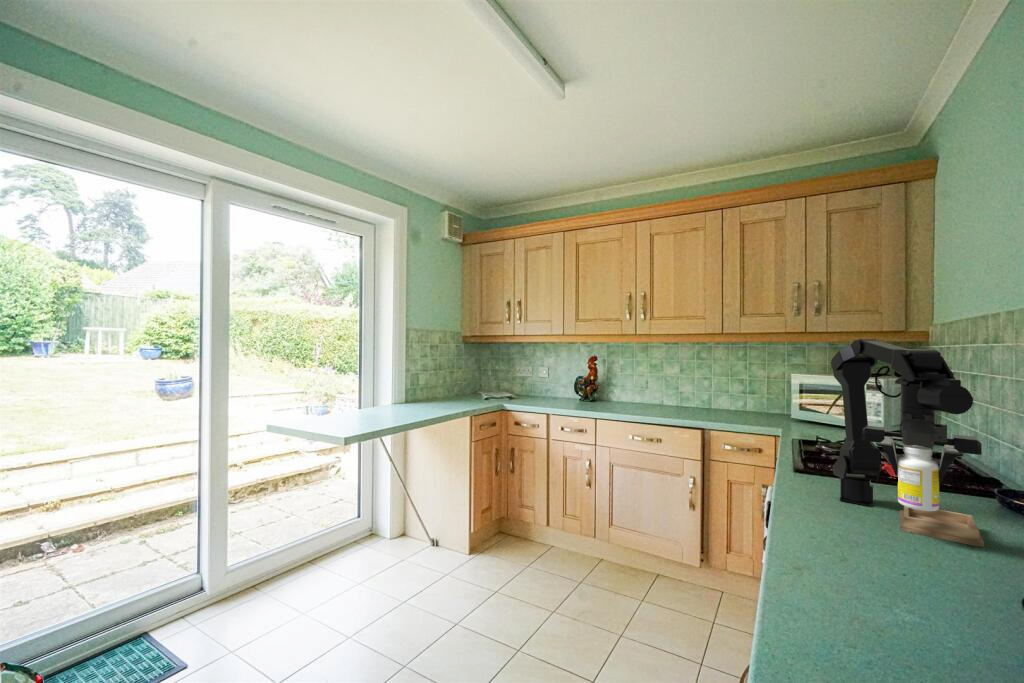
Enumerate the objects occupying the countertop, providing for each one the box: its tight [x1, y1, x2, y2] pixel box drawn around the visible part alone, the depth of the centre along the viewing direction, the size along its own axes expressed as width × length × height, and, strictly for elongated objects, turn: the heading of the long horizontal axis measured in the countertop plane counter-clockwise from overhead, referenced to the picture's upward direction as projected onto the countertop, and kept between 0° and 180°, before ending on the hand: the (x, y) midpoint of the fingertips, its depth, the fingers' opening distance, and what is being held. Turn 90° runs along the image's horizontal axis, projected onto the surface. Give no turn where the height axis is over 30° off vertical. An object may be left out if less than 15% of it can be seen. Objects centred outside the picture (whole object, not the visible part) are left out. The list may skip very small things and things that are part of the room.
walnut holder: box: [899, 506, 985, 548], centre depth 100 cm, size 13×13×3 cm
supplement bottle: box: [897, 444, 940, 511], centre depth 96 cm, size 7×7×13 cm
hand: (917, 478), depth 96 cm, fingers closed on supplement bottle, 7 cm apart
